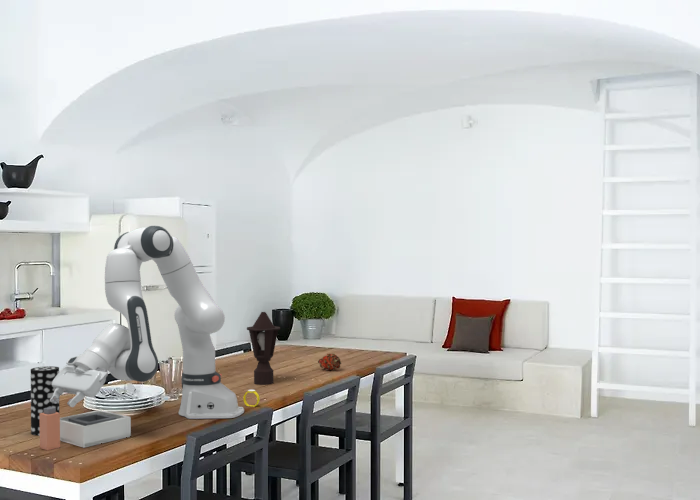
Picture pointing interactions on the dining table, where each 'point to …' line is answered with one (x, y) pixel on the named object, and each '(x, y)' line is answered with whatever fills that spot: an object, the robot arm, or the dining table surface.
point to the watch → (256, 396)
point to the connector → (49, 429)
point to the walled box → (94, 428)
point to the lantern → (263, 348)
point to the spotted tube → (41, 394)
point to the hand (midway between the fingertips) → (60, 404)
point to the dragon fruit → (330, 362)
